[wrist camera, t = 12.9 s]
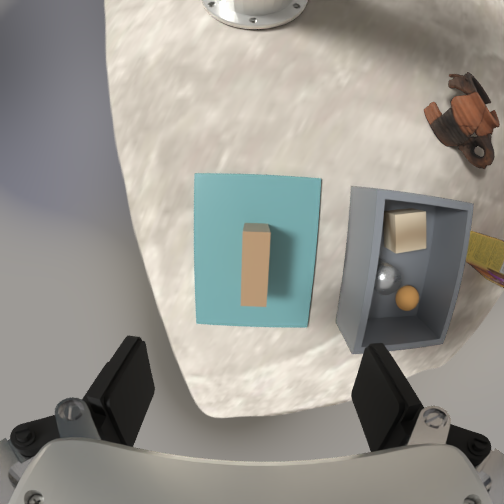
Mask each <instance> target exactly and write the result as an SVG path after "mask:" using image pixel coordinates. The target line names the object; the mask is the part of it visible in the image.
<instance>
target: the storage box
mask: <svg viewBox="0 0 504 504" xmlns="http://www.w3.org/2000/svg"><path fill="white" fill-rule="evenodd" d="M473 205H474V204H472V203H467V202H462V201H456V200H451V199H445V198H439V197H433V196H427V195H421V194H414V193H407V192H400V191H392V190H384V189H376V188H367V187H357V186H351V196H350V210H349V223H348V233H347V243H346V253H345V261H344V269H343V277H342V284H341V291H340V298H339V304H338V311H337V317H336V324H337V326H338V327H339V329H340V331H341V333H342V335H343V337H344V339H345V341H346V343H347V345H348V347H349V349H350V351H351V353H352V354H363V353H364V350H365V348H366V347H368V346H369V344H372V343H383V344H384V345H385V347H386V348H387V350H388V351H395V350H404V349H412V348H419V347H426V346H433V345H439V344H443V342H444V339H445V337H446V334H447V331H448V327H449V324H450V321H451V318H452V315H453V311H454V308H455V304H456V300H457V297H458V293H459V289H460V285H461V280H462V276H463V271H464V266H465V261H466V256H467V250H468V244H469V238H470V231H471V223H472V215H473ZM408 208H414V209H418V210H422V211H426V249H420V250H414V251H408V252H402V253H394V252H392V251H391V250H389V249H387V248H386V247H384V228H383V217H384V211H389V210H398V209H408ZM379 257H380V258H381V259H383V260H384V261H386V262H387V263H389V264H390V265H391V266H393V267H394V268H396V269H397V270H398V271H399V272H400V275H401V283H400V285H399V287H398V289H397V290H396V291H395V292H394V293H392V294H390V295H382V294H380V293H379V292H378V291H377V290H376V289H375V288H374V284H375V278H376V272H377V265H378V259H379ZM407 285H409V286H413V287H414V288H415V289H416V290H417V291H418V293H419V302H418V304H417V306H416V307H415V308H414V309H412V310H410V311H404V310H401V309H400V308H399V307H398V306H397V304H396V300H395V297H396V293H397V291H398V290H399V289H400V288H401V287H403V286H407Z"/></svg>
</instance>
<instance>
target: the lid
mask: <svg viewBox="0 0 504 504" xmlns="http://www.w3.org/2000/svg"><path fill="white" fill-rule="evenodd" d="M320 190H321V179H320V178H308V177H293V176H277V175H255V174H212V173H195V179H194V271H195V301H196V323H197V324H210V325H227V326H250V327H307V324H308V317H309V309H310V301H311V293H312V284H313V275H314V265H315V255H316V244H317V233H318V220H319V206H320Z"/></svg>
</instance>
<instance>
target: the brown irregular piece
mask: <svg viewBox="0 0 504 504" xmlns="http://www.w3.org/2000/svg"><path fill="white" fill-rule="evenodd" d="M449 76H450V77H454V78H453V79H452V80H449V83H448V86H449V88H456V89H459V90H461V91H462V92H464V93H465V94H466V95H463V96H455V97H454V98H453V99H452V101H451V108H449V109H448V110H447V111H446V112H445V113H444V114H443V115H442V113H441V112H440V110H439V108H438V106H437V104H436V103H435V102H432V103H430V105H429V106H427V107H426V108H425V109H424V112H425V115H426V118H427V120H428V122H429V124H430V125H431V127H432V129H433V131H434V133H435V134H436V135H437V137H438V139H439V140H440V141H441V142H442V143H443V144H445V145H446V146H459V148H458V149H459V150H461V151H462V152H463V154H464V155H465V157H466V158H467V159H468V161H469V162H470V163H471V164H473V165H474V166H476V167H478V168H483V169H485V168H486V166H487V165H491V164H492V162H493V160H494V149H493V146H492V143H491V135H492V132H493V129H494V128H496V127H499V125H500V124H499V120H498V117H497V114H496V112H495V110H493V111H491V112H489V110H488V108H487V107H486V105H485V104H488V103H491V101H490V99H489V97H488V95H487V94H486V92H485V91H484V89H483V87H482V86H481V85H480V83H479V82H478V81H477V80H476V79H475V78H474V76H472V74H470V73H469V72H467V74H465V75H464V76H463V75H458V74H449ZM474 132H475V134H476V135H477V137H470V136H471V135H472V134H473V133H474ZM490 134H491V135H490ZM477 146H479V147H481V148H482V149H483V150H484V156H483V157H480V156H478V155H477V154H475V152H474V149H475V148H476V147H477Z"/></svg>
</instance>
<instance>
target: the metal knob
mask: <svg viewBox="0 0 504 504" xmlns="http://www.w3.org/2000/svg"><path fill="white" fill-rule="evenodd" d="M400 283H401V275H400V272H399V271H398V270H397V269H396V268H394V267H393V266H391V265H390V264H389V263H387V262H386V261H384V260H383V259H381V258H380V257H379V259H378V265H377V272H376V278H375V284H374V288H375V289H376V290H377V291H378V292H379V293H380V294H382V295H390V294H392V293H394V292H395V291H396V290H397V289H398V287H399V285H400Z"/></svg>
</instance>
